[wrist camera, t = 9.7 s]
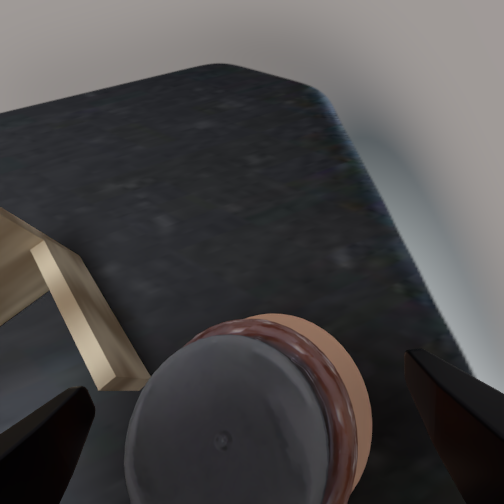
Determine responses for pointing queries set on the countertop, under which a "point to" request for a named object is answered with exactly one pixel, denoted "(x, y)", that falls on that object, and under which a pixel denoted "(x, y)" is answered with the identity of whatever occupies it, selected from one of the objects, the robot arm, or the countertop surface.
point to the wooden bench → (66, 302)
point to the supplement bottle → (243, 423)
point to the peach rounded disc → (347, 374)
